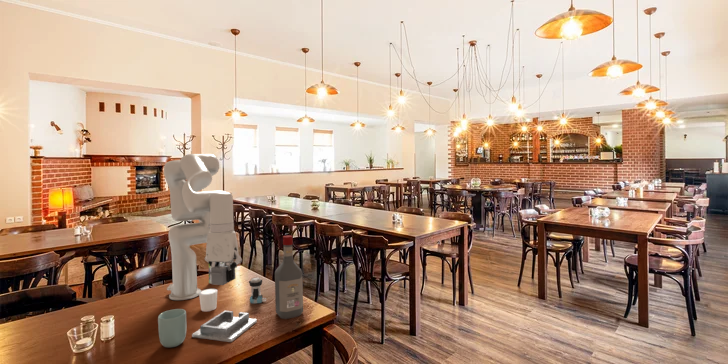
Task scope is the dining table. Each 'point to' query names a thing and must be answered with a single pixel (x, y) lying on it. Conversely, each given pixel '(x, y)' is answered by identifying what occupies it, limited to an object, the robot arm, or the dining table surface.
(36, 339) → the dining table surface
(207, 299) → the white cylinder
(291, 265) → the liquor
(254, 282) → the push button
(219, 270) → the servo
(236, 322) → the plate
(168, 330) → the cup
